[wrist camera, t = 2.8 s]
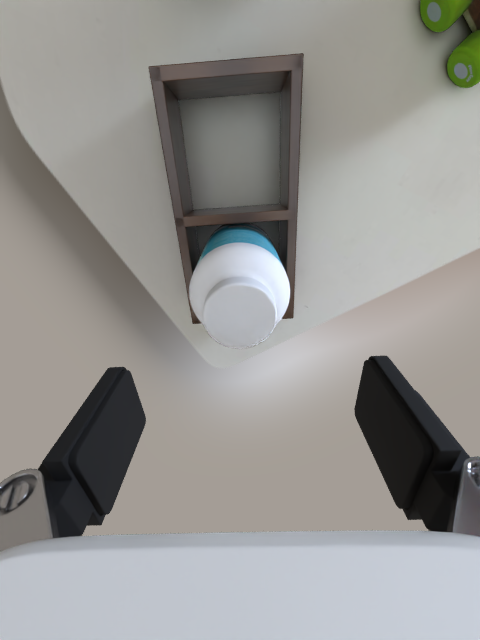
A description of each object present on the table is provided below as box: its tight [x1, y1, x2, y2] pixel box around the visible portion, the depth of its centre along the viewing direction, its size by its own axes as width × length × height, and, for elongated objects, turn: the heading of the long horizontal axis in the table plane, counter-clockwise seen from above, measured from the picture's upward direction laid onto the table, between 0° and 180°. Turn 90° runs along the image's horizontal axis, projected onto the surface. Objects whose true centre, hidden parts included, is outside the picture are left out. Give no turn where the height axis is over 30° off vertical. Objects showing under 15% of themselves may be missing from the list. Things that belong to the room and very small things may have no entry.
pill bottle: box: [189, 223, 290, 349], centre depth 22 cm, size 8×7×14 cm
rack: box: [149, 53, 304, 324], centre depth 24 cm, size 10×19×5 cm, turn 4°
